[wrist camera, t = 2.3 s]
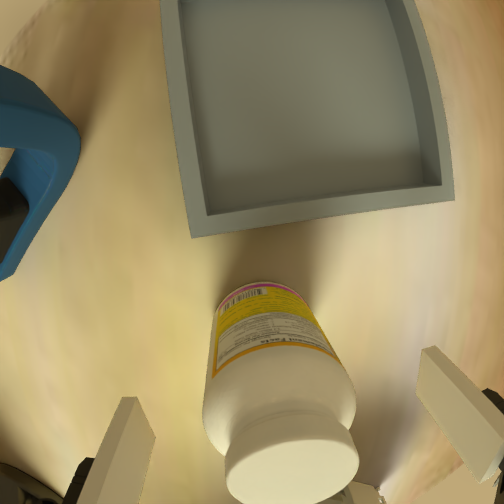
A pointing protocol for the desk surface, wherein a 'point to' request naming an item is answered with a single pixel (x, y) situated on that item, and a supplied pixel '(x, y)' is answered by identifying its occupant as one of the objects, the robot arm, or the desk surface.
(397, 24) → the tray
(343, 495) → the circuit breaker
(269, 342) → the supplement bottle
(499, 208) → the desk surface
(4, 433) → the desk surface
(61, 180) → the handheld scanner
